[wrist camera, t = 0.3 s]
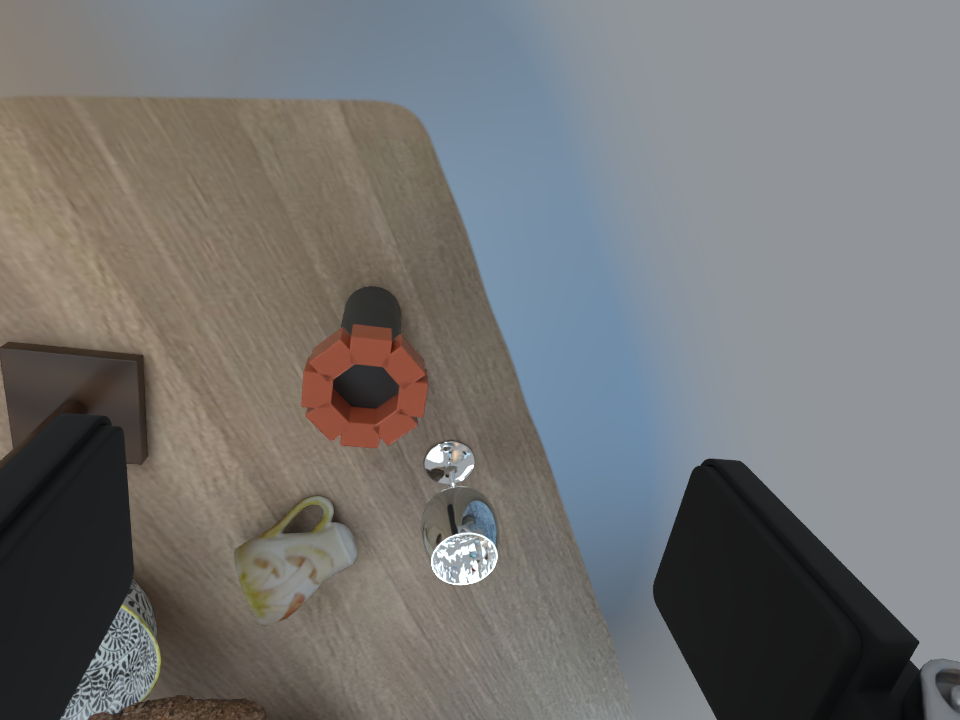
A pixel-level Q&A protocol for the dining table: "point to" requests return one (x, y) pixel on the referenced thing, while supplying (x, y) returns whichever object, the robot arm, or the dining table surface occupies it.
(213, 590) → the dining table surface
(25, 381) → the post
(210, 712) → the rock
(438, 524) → the wineglass
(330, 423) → the ring
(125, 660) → the bowl
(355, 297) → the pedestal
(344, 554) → the mug
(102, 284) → the dining table surface
